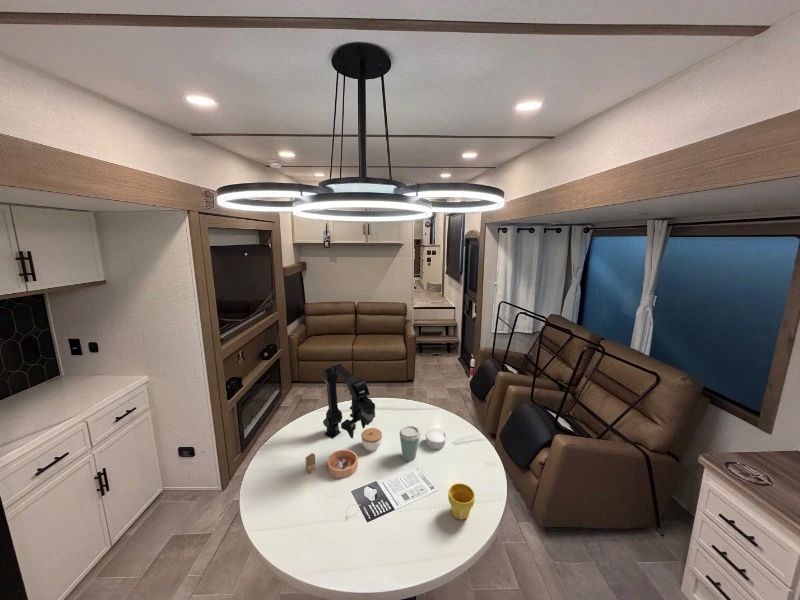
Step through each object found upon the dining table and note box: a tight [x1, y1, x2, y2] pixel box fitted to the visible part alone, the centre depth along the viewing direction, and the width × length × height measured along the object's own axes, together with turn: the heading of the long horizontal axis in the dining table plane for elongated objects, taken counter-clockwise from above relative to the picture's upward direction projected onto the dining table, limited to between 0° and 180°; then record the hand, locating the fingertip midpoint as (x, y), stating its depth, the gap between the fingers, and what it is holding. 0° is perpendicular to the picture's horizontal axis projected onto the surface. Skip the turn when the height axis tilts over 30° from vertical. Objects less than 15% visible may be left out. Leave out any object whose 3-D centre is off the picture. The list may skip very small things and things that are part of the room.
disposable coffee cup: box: [399, 425, 422, 462], centre depth 159 cm, size 11×11×15 cm
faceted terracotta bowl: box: [326, 449, 359, 479], centre depth 152 cm, size 14×14×4 cm
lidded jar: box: [360, 427, 383, 452], centre depth 165 cm, size 11×11×9 cm
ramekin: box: [424, 428, 448, 450], centre depth 169 cm, size 11×11×5 cm
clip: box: [337, 457, 348, 469], centre depth 152 cm, size 4×3×3 cm
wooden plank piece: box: [305, 452, 317, 475], centre depth 149 cm, size 2×4×8 cm, turn 148°
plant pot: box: [447, 482, 476, 520], centre depth 128 cm, size 10×10×10 cm
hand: (357, 433), depth 156 cm, fingers open, 9 cm apart
